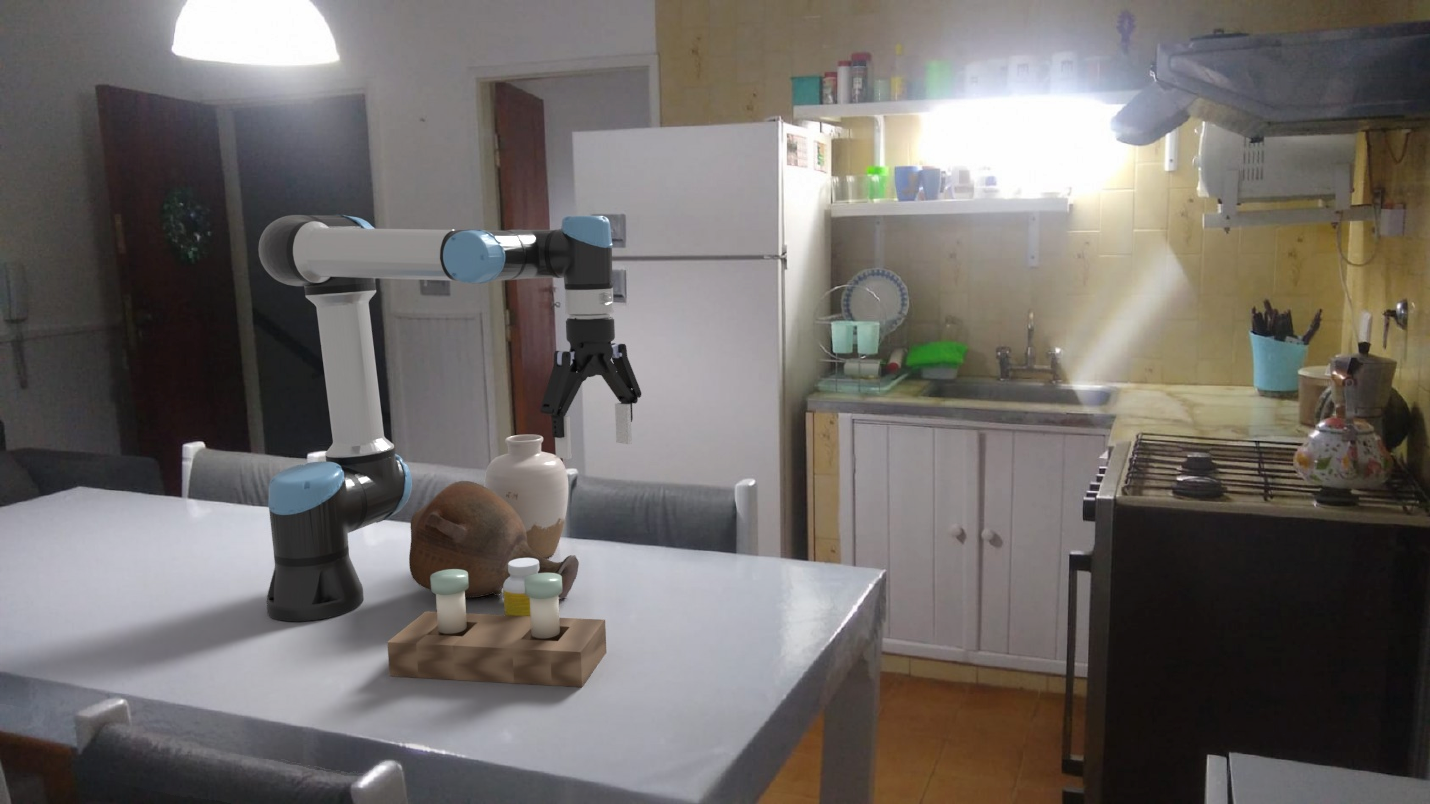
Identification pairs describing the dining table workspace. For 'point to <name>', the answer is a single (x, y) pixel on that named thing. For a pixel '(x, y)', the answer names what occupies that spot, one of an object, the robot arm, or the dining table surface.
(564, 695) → the dining table surface
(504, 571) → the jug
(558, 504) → the vase
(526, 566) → the pill bottle
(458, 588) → the knob
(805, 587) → the dining table surface
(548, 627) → the knob
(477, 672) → the mount
